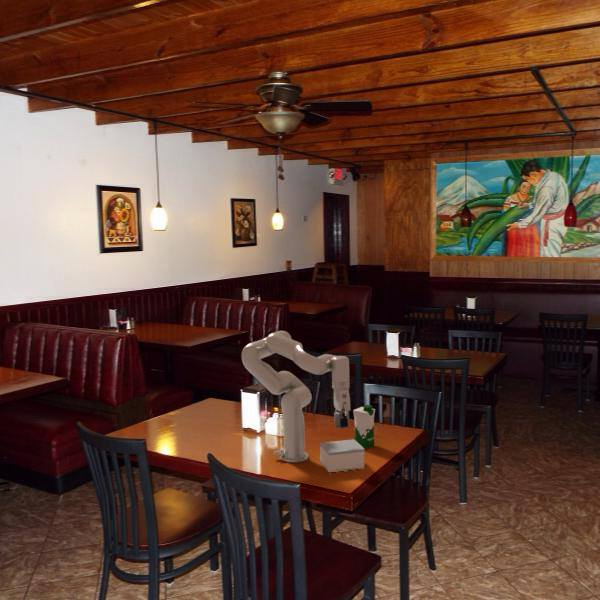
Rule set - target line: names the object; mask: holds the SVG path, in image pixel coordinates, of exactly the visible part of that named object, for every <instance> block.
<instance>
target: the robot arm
mask: <svg viewBox="0 0 600 600" xmlns="http://www.w3.org/2000/svg"><path fill="white" fill-rule="evenodd" d="M303 347H304V346H303V344H302V343H301V342H299V341H297V340H296V339H295V340H294V339H292V336H291V335H290V333H289V332H288V331H285V330H278V331H275V332H272V333H269V334H268V336H266V337H264V338H261V339H259V340H257V341H256V340H255V341H252V342H249V343H247V345H245V346H244V347H243V348H242V351H241V362H242V364H243V366H244V368H245V369H246V370H247V372H249V373H250V374H251V375H252V376H253V377H255V378H256V380H258V381H259V382H260V384H262V385H263V386H264V387H265V388H266V389H267V390H268V391H269V392H270V393H271V394H272V395H275V396H279V395H281V394H283V393H284V394H283V396H282V397H281V399H280V400H281V401H280V406H281V411H282V412H281V413H282V422H283V425H282V426H283V447H282V449H280V450H278V449H277V450H273V454H274V456H277V457H280V459H281V460H282V461H283V462H287V463H293V464H294V463H302V462H305V461H307V460H308V459H309V454H308V453H307V452H306V448H305V445H306V443H305V442H306V441H305V439H306V438H305V416H304V414H303V410H302V409H303V408H304V407H306V406H308V405H309V404H310V403H311V401H312V399H313V398H312V397H313V396H312V393H311V391H310V389H309V388H308V387H307V386H306V385H305V384H304V383H303V382H302V380H300V379H299V378H298V377H297V376H296V375H294V374H293V373H292V372H290V371H287V370H281V371H276V370H275V369H274V368H273V367H272V366H271V365H270V364H268V363H267V362H265V361H263V360H262V359H264V358H266V357H269V356H272V355H273V354H275V353H276V354H278V355H281V356H283V357H285V358H287V359H289V360H291V361H293V363H294V364H295V365H297V366H298V367H299V368H300V369H301V370H304V371H306V372H308V373H311V374H312V375H318V376H319V375H320V376H321V375H324V374H326V373H328V372H331V379H332V380H331V384H332V385H331V387H332V388H331V389H333V406H334V408H335V410H334V412H335V411H340V414H341V418H340V427H347V428H349V427H348V412H350V411H351V398H350V358H349V357H347V356H345V355H333V354H329V353H324V354H322V355H320V356H319V355H318V356H314V355H311V354H310V353H307V352H306V351H304V349H303ZM342 410H343V411H342ZM342 413H343V414H342Z"/></svg>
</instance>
